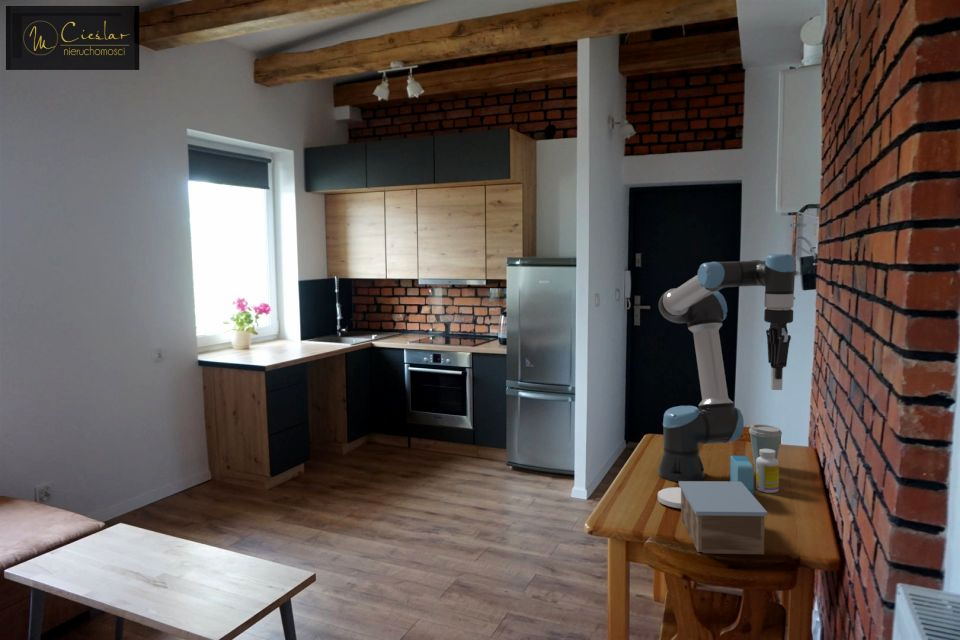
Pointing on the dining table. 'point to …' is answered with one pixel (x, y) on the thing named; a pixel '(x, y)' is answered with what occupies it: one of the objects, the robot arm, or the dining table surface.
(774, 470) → the supplement bottle
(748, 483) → the data package
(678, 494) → the plastic lid
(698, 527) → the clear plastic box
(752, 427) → the disposable coffee cup
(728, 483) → the lid
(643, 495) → the dining table surface
